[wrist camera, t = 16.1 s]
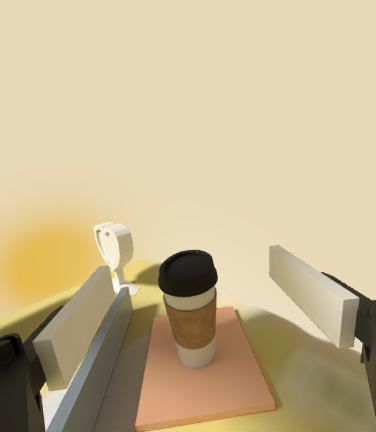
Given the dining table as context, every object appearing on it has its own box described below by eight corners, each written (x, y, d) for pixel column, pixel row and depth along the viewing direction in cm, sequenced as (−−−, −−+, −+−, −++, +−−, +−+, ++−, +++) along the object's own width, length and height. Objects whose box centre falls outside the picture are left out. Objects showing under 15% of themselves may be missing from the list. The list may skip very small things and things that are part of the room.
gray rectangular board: (50, 507, 16) (31, 460, 14) (126, 311, 39) (121, 287, 38) (67, 504, 16) (49, 457, 15) (133, 310, 39) (128, 286, 38)
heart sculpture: (102, 281, 53) (88, 223, 50) (118, 273, 57) (106, 219, 53) (126, 301, 43) (112, 230, 39) (144, 290, 46) (132, 224, 43)
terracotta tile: (136, 432, 20) (135, 426, 20) (154, 321, 35) (153, 317, 35) (275, 409, 20) (275, 403, 20) (232, 310, 36) (232, 306, 36)
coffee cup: (231, 337, 29) (225, 252, 26) (210, 392, 22) (198, 283, 19) (187, 321, 33) (178, 246, 30) (158, 361, 26) (142, 270, 23)
